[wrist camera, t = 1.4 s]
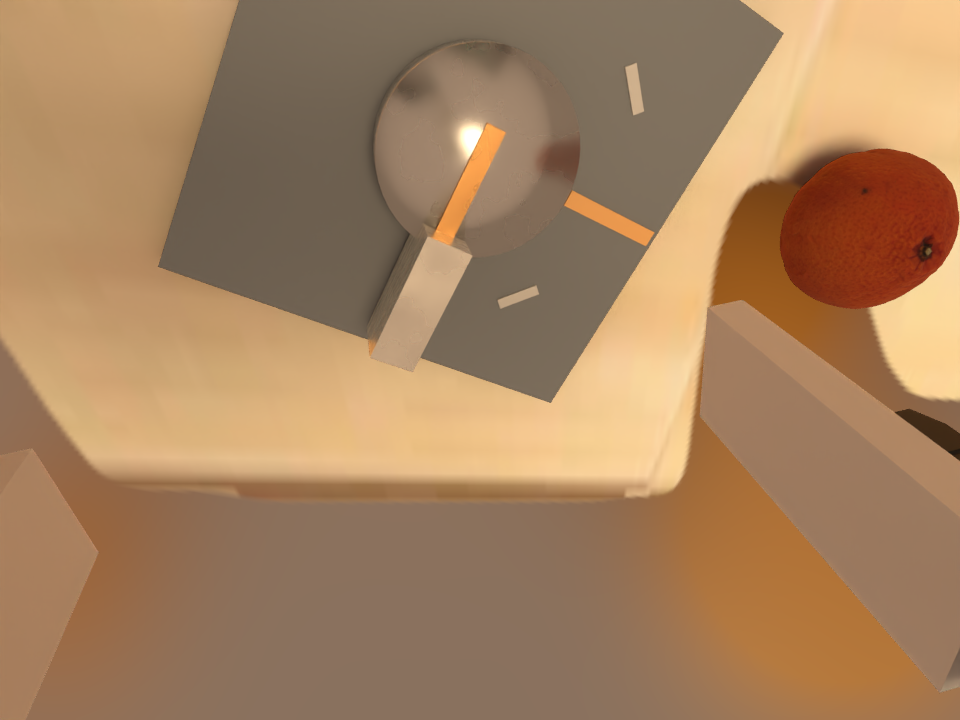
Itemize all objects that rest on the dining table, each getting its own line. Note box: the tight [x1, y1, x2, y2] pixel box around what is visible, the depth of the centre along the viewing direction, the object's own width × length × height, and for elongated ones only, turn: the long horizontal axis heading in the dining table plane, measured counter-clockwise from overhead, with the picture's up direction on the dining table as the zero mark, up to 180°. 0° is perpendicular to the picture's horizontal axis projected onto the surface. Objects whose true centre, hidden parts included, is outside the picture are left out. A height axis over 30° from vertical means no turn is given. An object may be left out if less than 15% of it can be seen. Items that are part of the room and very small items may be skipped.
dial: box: [367, 39, 580, 372], centre depth 31 cm, size 16×10×4 cm, turn 152°
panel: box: [158, 0, 784, 403], centre depth 32 cm, size 24×24×1 cm
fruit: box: [780, 149, 959, 309], centre depth 36 cm, size 9×9×8 cm
